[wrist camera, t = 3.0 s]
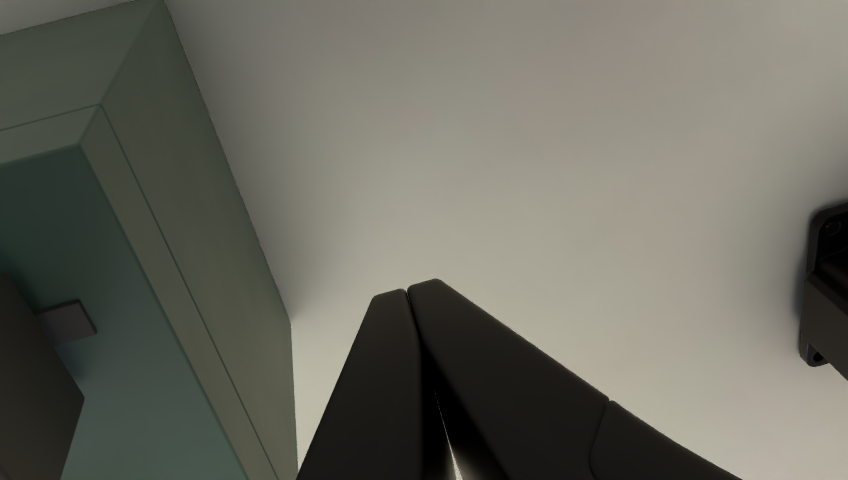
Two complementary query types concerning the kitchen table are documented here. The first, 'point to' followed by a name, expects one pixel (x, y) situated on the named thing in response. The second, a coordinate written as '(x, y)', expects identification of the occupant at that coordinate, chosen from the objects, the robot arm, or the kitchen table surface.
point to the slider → (32, 395)
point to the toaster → (140, 254)
